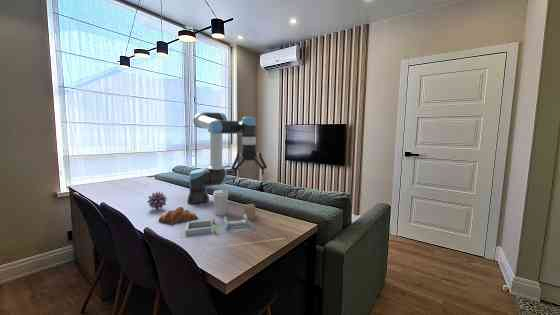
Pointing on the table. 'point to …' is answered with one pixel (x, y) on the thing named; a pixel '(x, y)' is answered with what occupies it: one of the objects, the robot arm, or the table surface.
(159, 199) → the spiky ball
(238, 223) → the gate
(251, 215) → the jaw block
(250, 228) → the housing
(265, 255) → the table surface
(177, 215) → the pastry
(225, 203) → the coffee cup
